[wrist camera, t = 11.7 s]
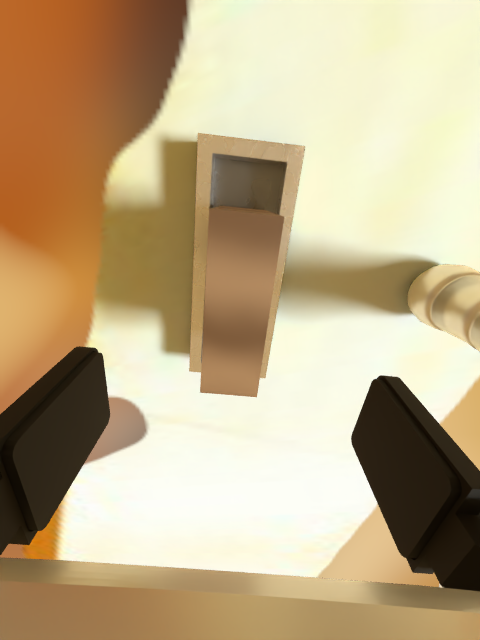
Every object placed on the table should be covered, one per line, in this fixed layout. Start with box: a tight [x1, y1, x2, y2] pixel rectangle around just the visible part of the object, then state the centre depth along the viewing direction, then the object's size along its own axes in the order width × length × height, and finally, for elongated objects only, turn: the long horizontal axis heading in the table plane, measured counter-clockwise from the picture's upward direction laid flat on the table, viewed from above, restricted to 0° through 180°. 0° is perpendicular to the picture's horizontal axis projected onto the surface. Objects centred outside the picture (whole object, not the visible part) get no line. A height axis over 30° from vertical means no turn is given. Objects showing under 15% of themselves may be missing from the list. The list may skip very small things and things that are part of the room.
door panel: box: [200, 206, 284, 397], centre depth 22 cm, size 12×4×12 cm, turn 174°
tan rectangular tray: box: [189, 133, 305, 378], centre depth 27 cm, size 22×9×4 cm, turn 174°
